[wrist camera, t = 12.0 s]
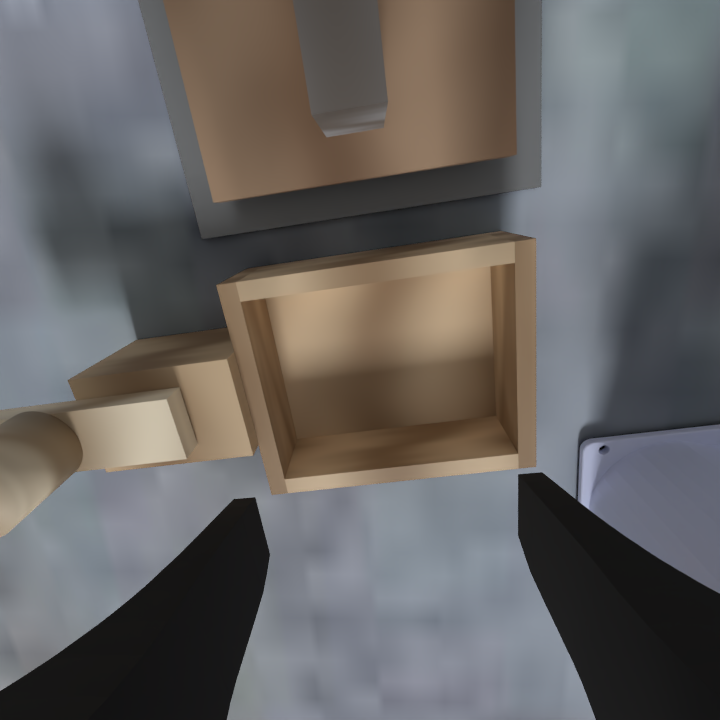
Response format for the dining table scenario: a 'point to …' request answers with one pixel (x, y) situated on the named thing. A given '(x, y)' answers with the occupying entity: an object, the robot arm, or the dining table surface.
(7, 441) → the beige piece
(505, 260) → the open wooden box
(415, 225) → the dining table surface
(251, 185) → the lid
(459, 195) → the mat
